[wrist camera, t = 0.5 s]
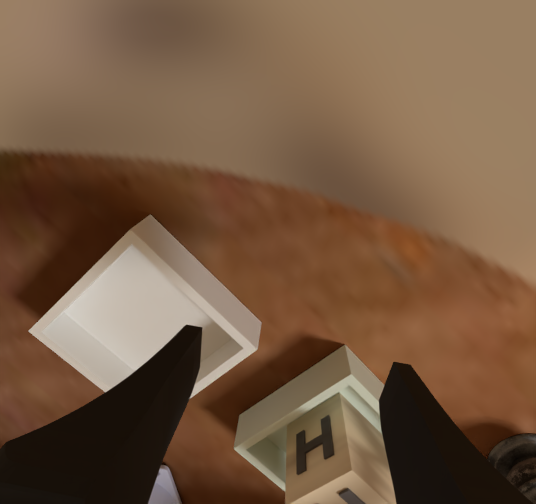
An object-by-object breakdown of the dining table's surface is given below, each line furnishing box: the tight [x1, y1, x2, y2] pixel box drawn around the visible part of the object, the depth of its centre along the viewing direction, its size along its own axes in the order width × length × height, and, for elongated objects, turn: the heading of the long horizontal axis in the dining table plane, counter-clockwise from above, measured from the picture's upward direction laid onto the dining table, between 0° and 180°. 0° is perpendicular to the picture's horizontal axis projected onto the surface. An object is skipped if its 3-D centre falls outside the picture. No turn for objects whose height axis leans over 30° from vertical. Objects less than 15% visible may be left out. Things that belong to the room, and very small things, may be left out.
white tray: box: [29, 214, 262, 398], centre depth 24 cm, size 10×10×3 cm
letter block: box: [285, 393, 396, 504], centre depth 25 cm, size 5×5×6 cm
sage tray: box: [234, 345, 385, 491], centre depth 27 cm, size 10×10×3 cm
